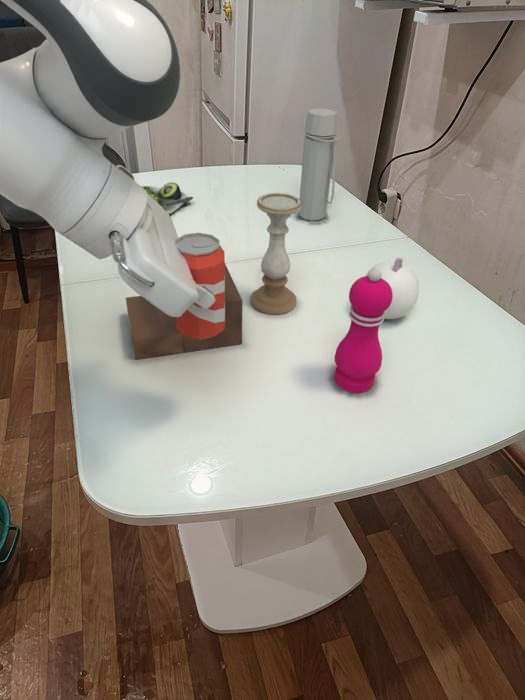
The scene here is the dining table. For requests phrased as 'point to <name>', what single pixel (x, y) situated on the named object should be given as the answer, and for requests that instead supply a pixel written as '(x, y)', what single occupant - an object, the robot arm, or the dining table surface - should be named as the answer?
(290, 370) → the dining table surface
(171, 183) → the avocado toast plate
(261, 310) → the candle holder
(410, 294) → the ornament
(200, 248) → the beverage can
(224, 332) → the step shelf
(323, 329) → the dining table surface
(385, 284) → the pepper mill
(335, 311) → the dining table surface
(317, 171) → the water bottle
